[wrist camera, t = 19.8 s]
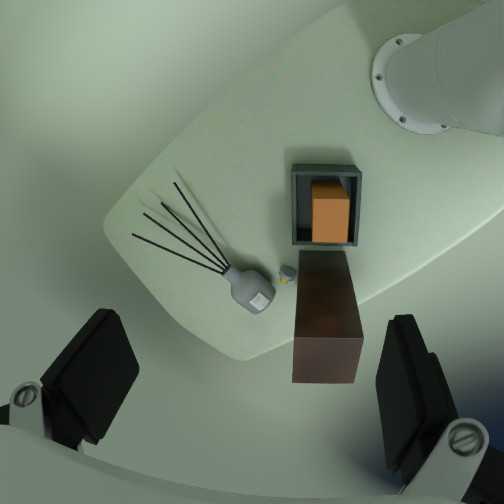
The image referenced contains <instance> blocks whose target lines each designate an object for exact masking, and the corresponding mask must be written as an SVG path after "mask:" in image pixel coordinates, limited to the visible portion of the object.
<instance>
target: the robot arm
mask: <svg viewBox="0 0 504 504" xmlns="http://www.w3.org/2000/svg"><path fill="white" fill-rule="evenodd" d="M396 41H397V42H399V45H398V44H397V43H396ZM376 76H379V78H380V79H379V80H377V79H376ZM371 82H372V87H373V91H374V94H375V97H376V99H377V101H378V103H379V105H380V106H381V108H382V109H383V111H384V112H385V113H386V114H387V116H388V117H389V118H390V119H392V120H393V121H394V122H395V123H396V124H398V125H399V126H401V127H402V128H404V129H406V130H409V131H411V132H414V133H418V134H425V135H432V134H438V133H441V132H444V131H446V130H448V129H450V128H451V127H457V128H462V129H467V130H471V131H476V132H480V133H485V134H490V135H494V136H499V137H504V0H488V1H486V2H485V3H483V4H482V5H480V6H478V7H477V8H475V9H473V10H471V11H470V12H468V13H466V14H464V15H462V16H460V17H458V18H456V19H454V20H452V21H450V22H448V23H446V24H444V25H442V26H441V27H439V28H437V29H435V30H433V31H431V32H429V33H427V34H426V35H421V34H413V33H409V34H401V35H398V36H395V37H393V38H391V39H390V40H388V41H387V42H386V43H384V44H383V45H382V46H381V47H380V49H379V50H378V51H377V53H376V55H375V57H374V60H373V63H372V68H371ZM400 117H402V121H400V120H399V118H400ZM441 125H442V126H441ZM138 373H139V364H138V362H137V360H136V357H135V355H134V352H133V350H132V348H131V345H130V343H129V340H128V338H127V335H126V333H125V330H124V327H123V325H122V322H121V320H120V317H119V315H118V314H116V312H115V311H114V310H112V309H103V308H100V309H98V310H97V311H96V312H95V313H94V314H93V315H92V317H91V318H90V319H89V320H88V321H87V323H86V324H85V325H84V326H83V327H82V328H81V329H80V331H79V332H78V333H77V334H76V335H75V336H74V338H73V339H72V340H71V341H70V343H69V344H68V345H67V346H66V347H65V348H64V350H63V351H62V352H61V354H60V355H59V356H58V357H57V358H56V360H55V361H54V362H53V363H52V364H51V366H50V367H49V368H48V369H47V371H46V372H45V373H44V375H43V376H42V377H41V378H40V381H41V382H42V384H43V386H42V387H40V386H39V385H38V384H37V383H35V382H26V383H23V384H21V385H19V386H18V387H17V388H16V389H15V390H14V391H13V393H12V395H11V398H10V404H7V405H4V406H1V407H0V504H504V453H503V452H501V451H499V450H497V449H496V448H494V447H492V446H490V445H488V443H489V437H488V433H487V431H486V428H485V427H484V426H483V425H482V424H481V423H480V422H478V421H477V420H474V419H470V418H461V419H459V417H458V414H457V411H456V408H455V405H454V402H453V399H452V396H451V393H450V390H449V387H448V384H447V382H446V379H445V376H444V373H443V371H442V368H441V365H440V363H439V361H438V358H437V356H436V354H435V353H433V352H432V353H428V351H427V348H426V346H425V344H424V340H423V338H422V336H421V333H420V330H419V328H418V326H417V323H416V321H415V319H414V316H413V315H412V314H406V315H395V317H394V320H389V322H388V326H387V331H386V336H385V341H384V345H383V350H382V354H381V359H380V363H379V367H378V371H377V375H376V391H377V397H378V404H379V411H380V418H381V425H382V432H383V441H384V449H385V459H386V467H387V469H388V470H390V469H392V474H393V475H392V476H393V477H398V476H401V477H402V483H403V484H404V485H405V486H404V487H403V488H402V490H401V491H400V492H399V494H398V495H387V496H371V497H353V498H283V497H282V498H281V497H267V496H256V495H245V494H237V493H230V492H223V491H216V490H210V489H204V488H199V487H194V486H188V485H184V484H180V483H175V482H171V481H166V480H163V479H159V478H155V477H151V476H147V475H144V474H140V473H137V472H134V471H131V470H127V469H124V468H121V467H118V466H115V465H112V464H109V463H106V462H103V461H101V460H98V459H95V458H93V457H90V456H87V455H85V454H84V453H83V449H82V444H81V441H82V439H84V440H85V441H86V442H89V443H91V444H94V445H97V444H98V442H99V440H100V439H102V438H103V437H104V436H105V434H106V432H107V430H108V428H109V427H110V425H111V423H112V421H113V419H114V417H115V415H116V413H117V412H118V410H119V408H120V406H121V404H122V403H123V401H124V399H125V397H126V395H127V394H128V392H129V390H130V388H131V386H132V385H133V383H134V381H135V379H136V377H137V376H138Z"/></svg>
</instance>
